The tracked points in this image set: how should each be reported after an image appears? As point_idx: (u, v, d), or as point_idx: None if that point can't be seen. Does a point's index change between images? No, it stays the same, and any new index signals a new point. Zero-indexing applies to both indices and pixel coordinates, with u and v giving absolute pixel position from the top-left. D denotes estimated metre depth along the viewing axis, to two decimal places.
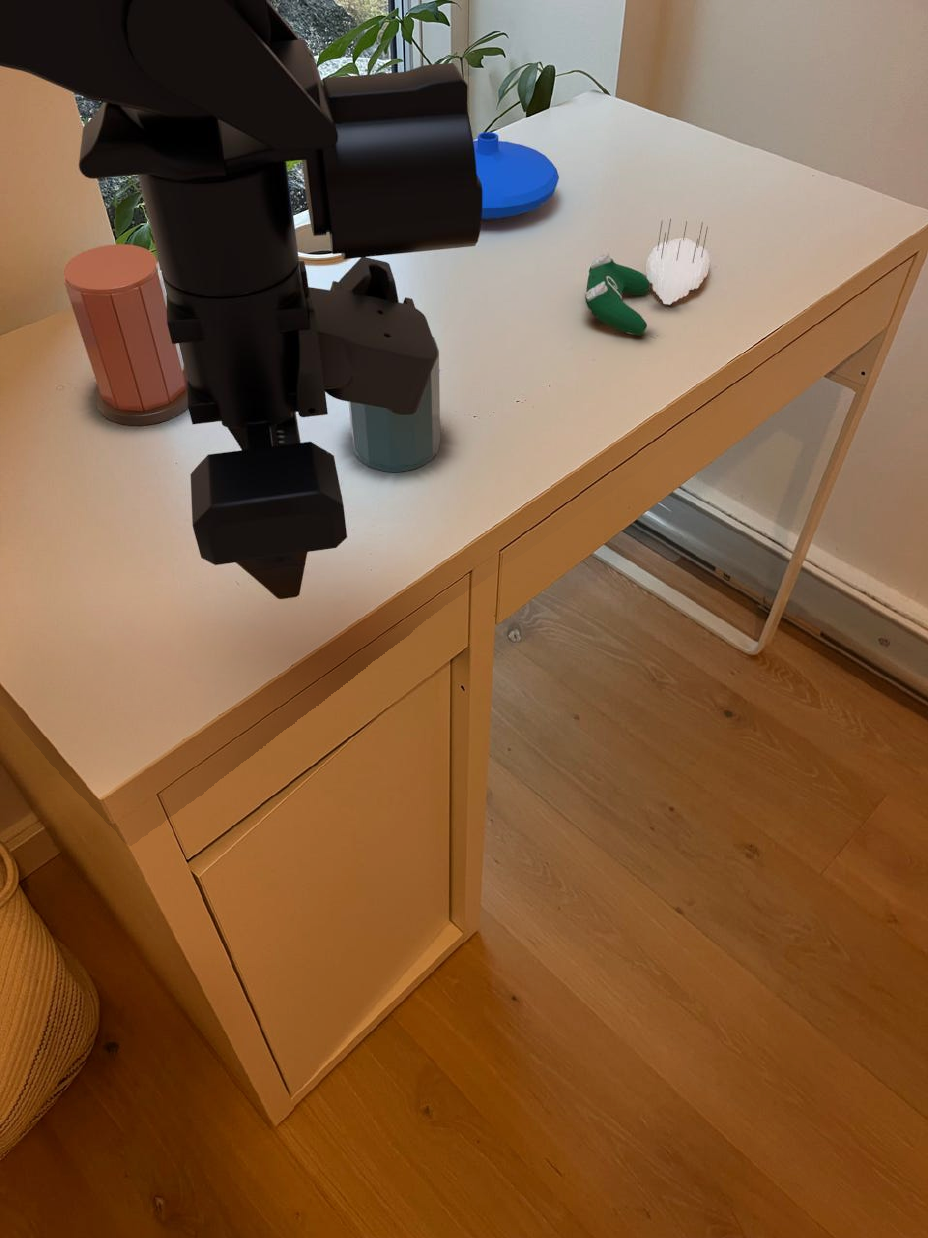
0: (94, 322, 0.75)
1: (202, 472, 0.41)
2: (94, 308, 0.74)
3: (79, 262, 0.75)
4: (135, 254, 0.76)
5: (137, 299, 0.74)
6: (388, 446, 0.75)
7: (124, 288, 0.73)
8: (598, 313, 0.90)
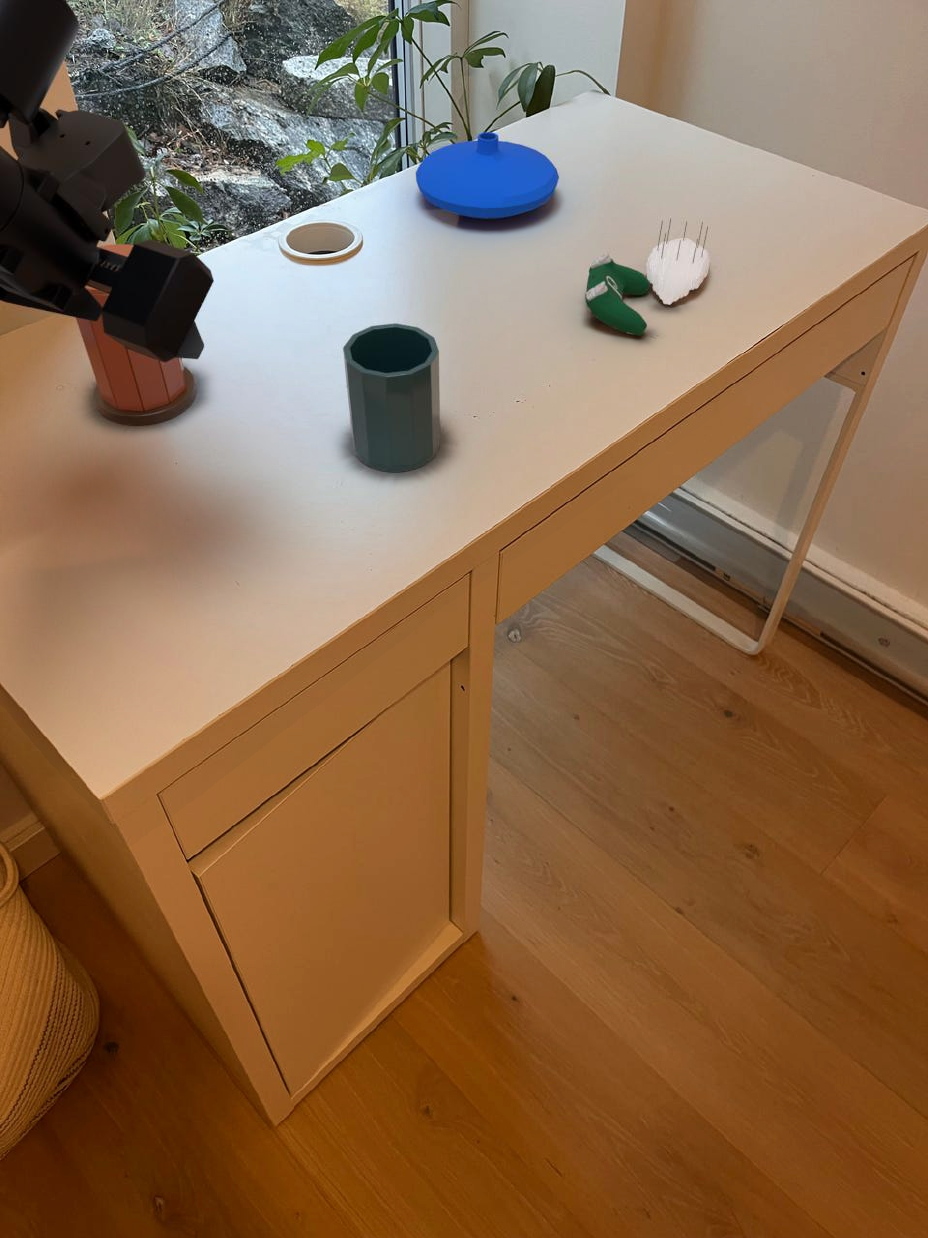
0: (94, 322, 0.75)
1: (111, 321, 0.56)
2: None
3: None
4: None
5: None
6: (388, 446, 0.75)
7: None
8: (598, 313, 0.90)
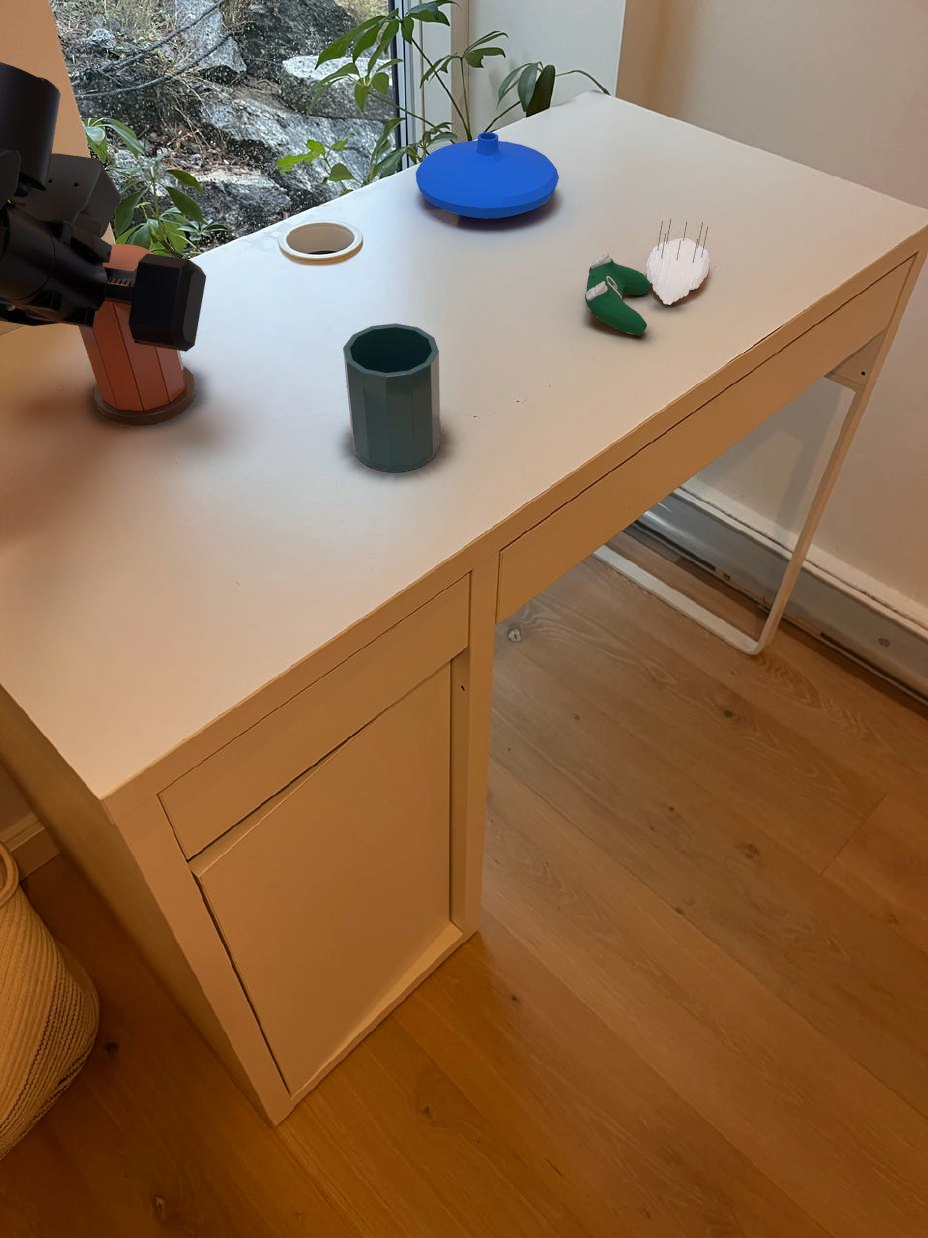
0: (94, 322, 0.75)
1: (139, 329, 0.70)
2: None
3: None
4: (135, 254, 0.76)
5: None
6: (388, 446, 0.75)
7: None
8: (598, 313, 0.90)
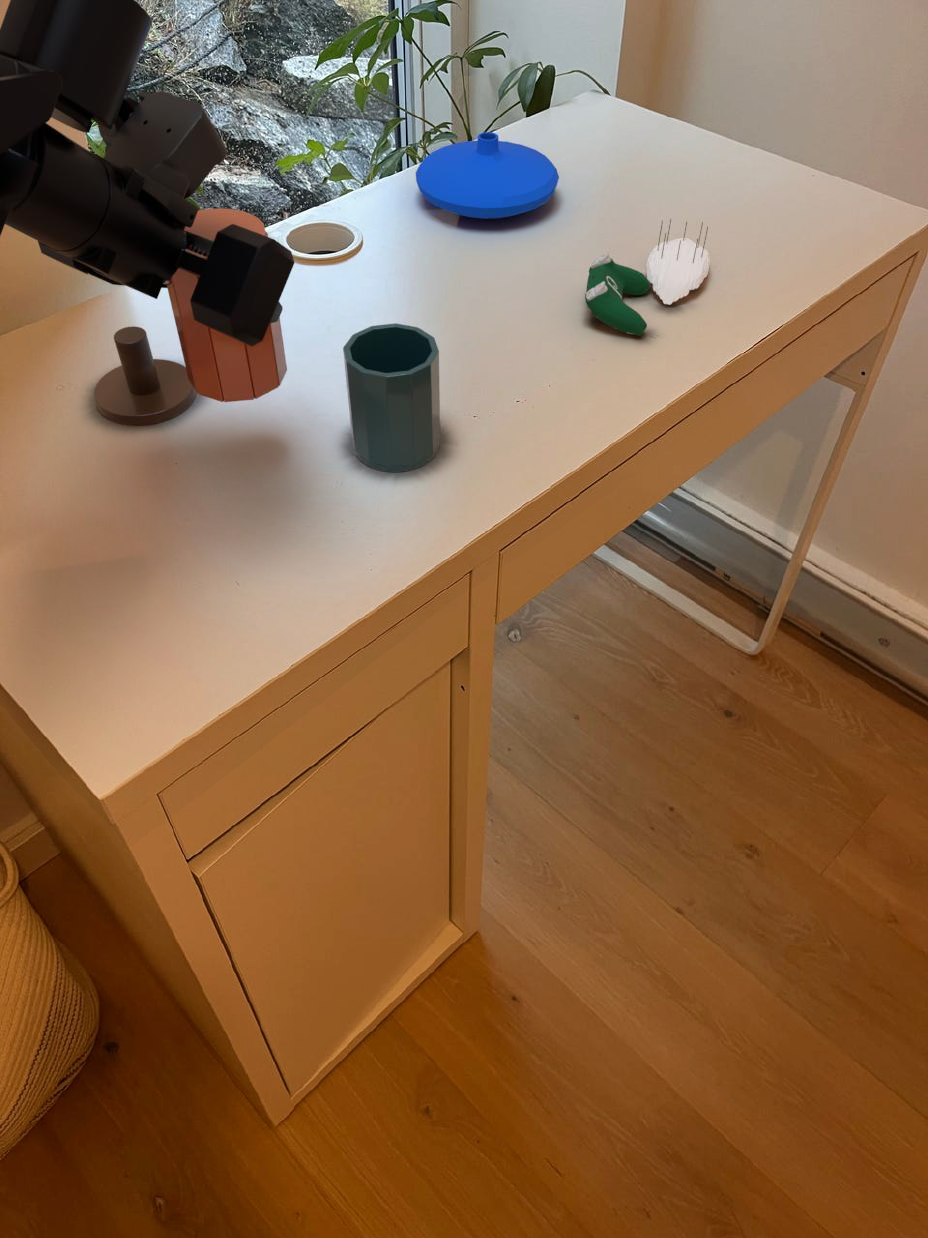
0: (179, 292, 0.65)
1: (200, 311, 0.58)
2: (179, 276, 0.64)
3: None
4: (245, 223, 0.65)
5: None
6: (388, 446, 0.75)
7: None
8: (598, 313, 0.90)
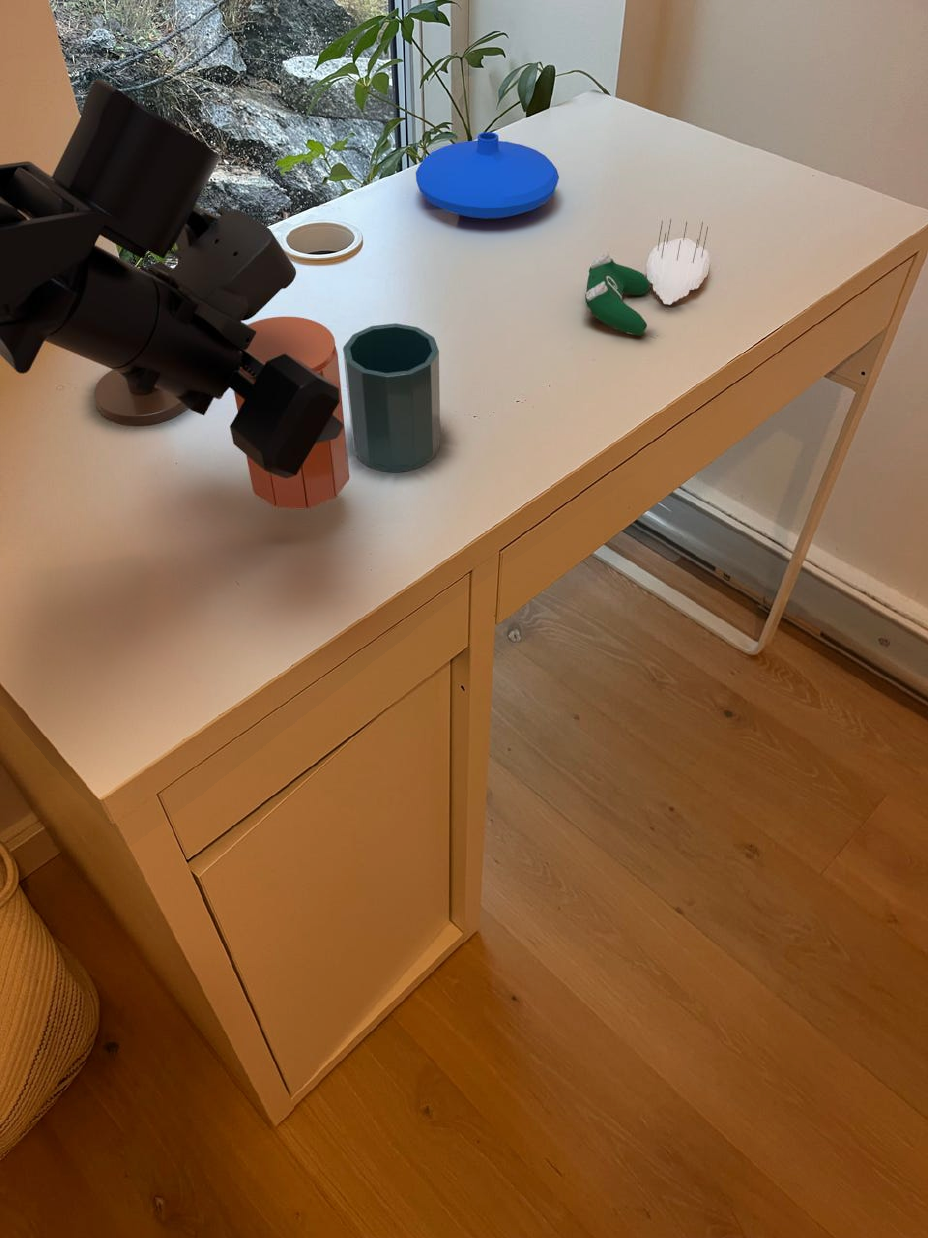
0: (239, 401, 0.64)
1: (238, 438, 0.57)
2: None
3: (256, 329, 0.64)
4: (316, 339, 0.64)
5: None
6: (388, 446, 0.75)
7: None
8: (598, 313, 0.90)
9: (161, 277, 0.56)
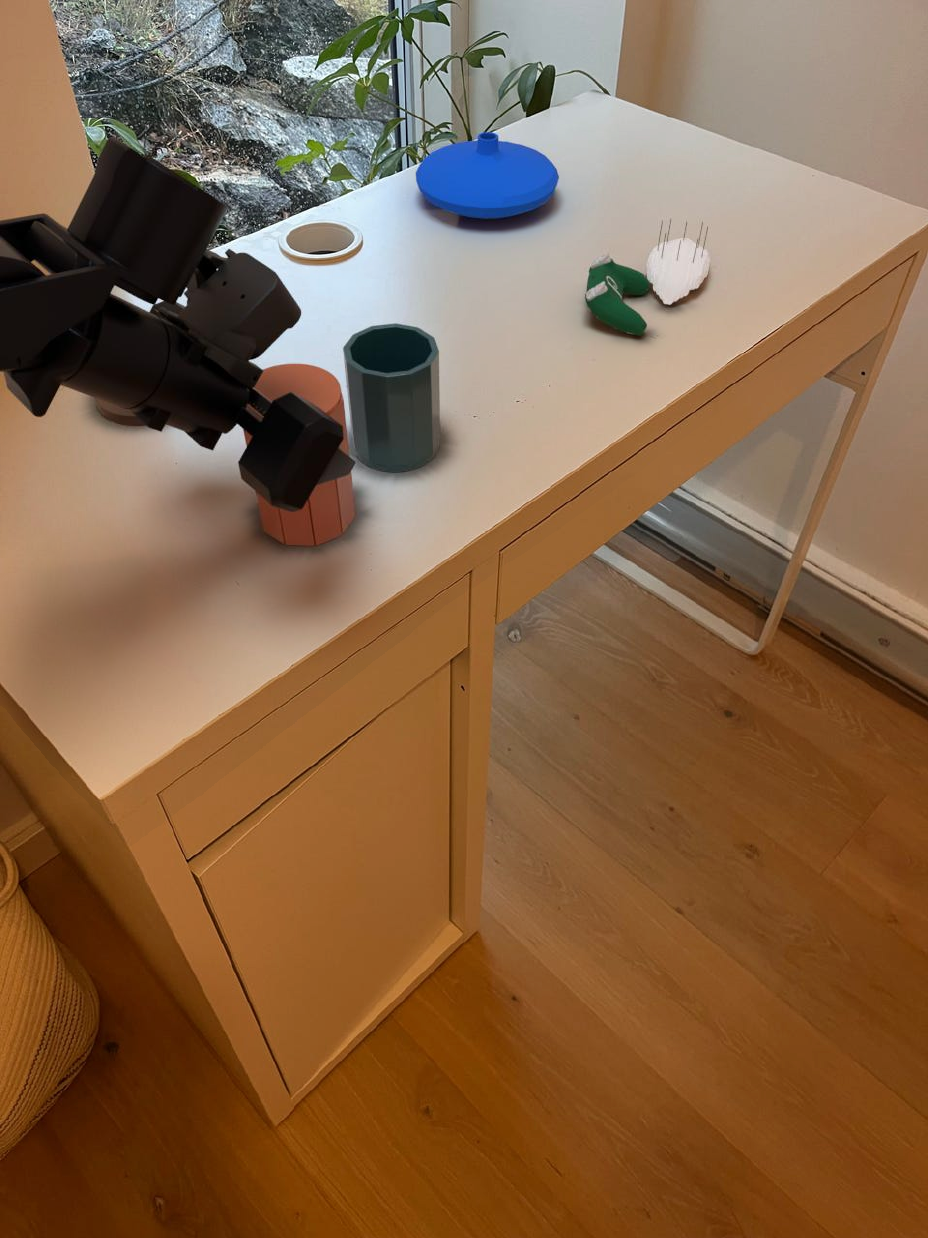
0: None
1: (246, 474, 0.59)
2: None
3: (266, 377, 0.67)
4: (323, 386, 0.66)
5: None
6: (388, 446, 0.75)
7: None
8: (598, 313, 0.90)
9: (171, 319, 0.58)
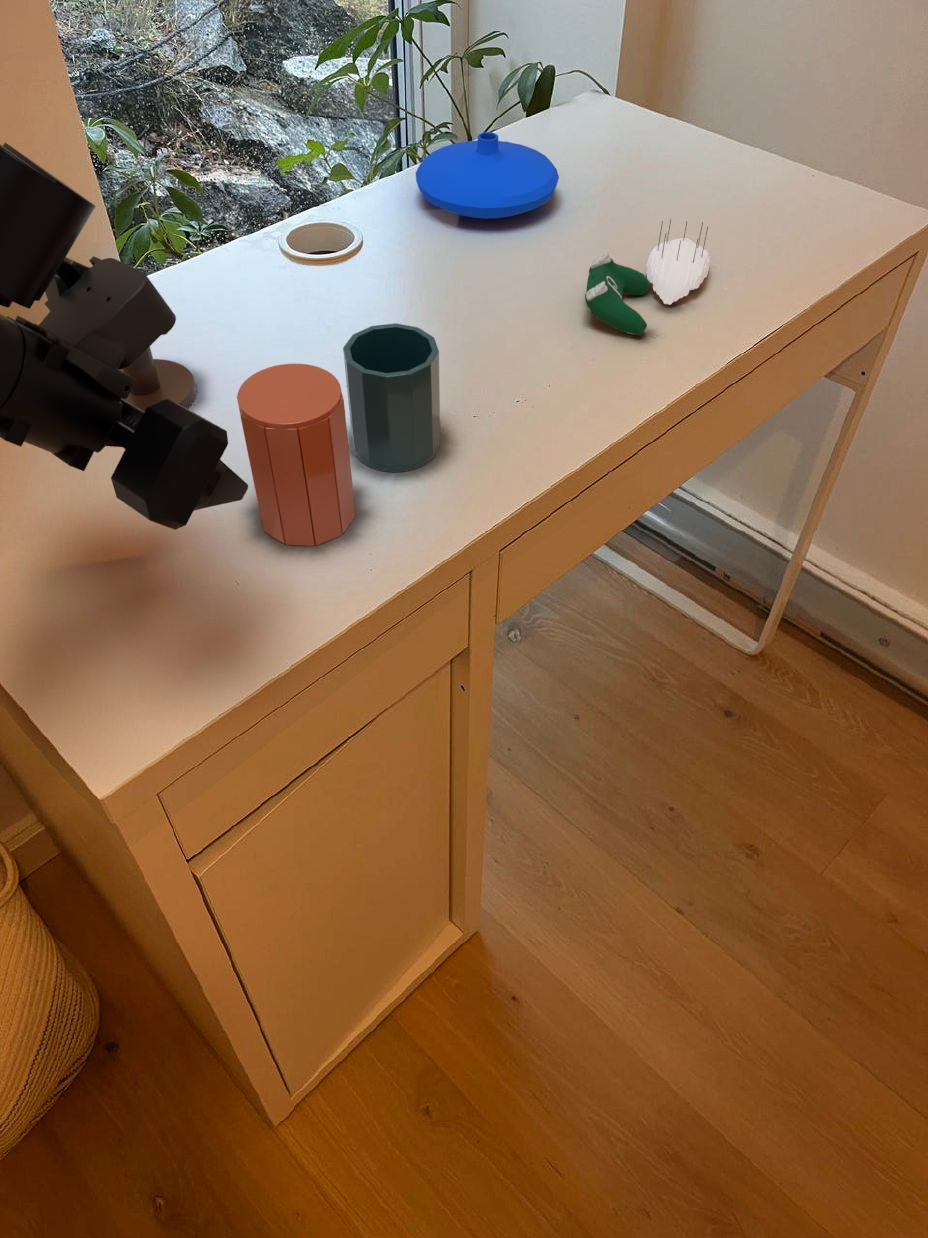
0: (249, 446, 0.66)
1: (120, 489, 0.53)
2: (250, 433, 0.65)
3: (266, 377, 0.67)
4: (323, 386, 0.66)
5: (293, 440, 0.65)
6: (388, 446, 0.75)
7: (280, 426, 0.64)
8: (598, 313, 0.90)
9: (29, 326, 0.53)
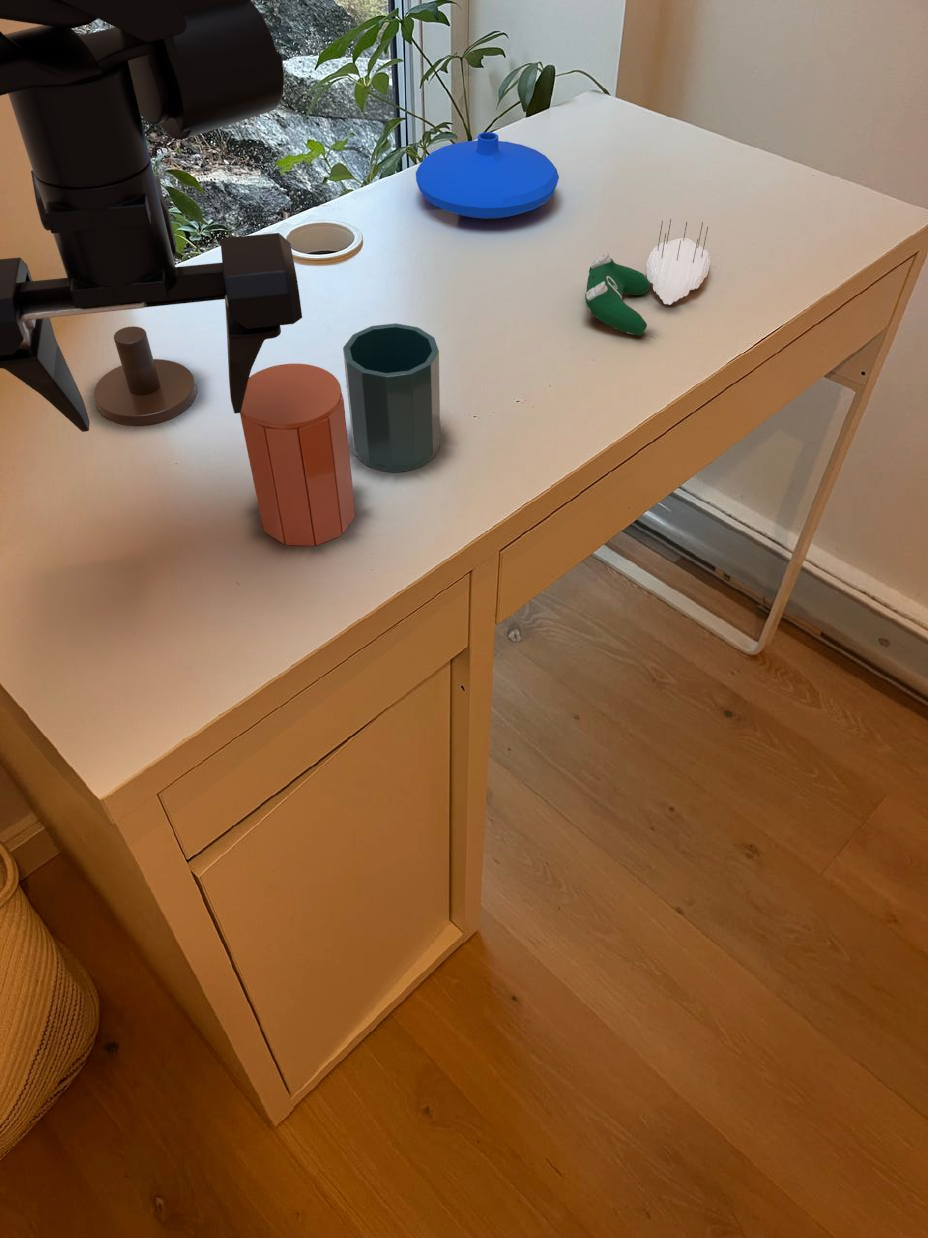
0: (249, 446, 0.66)
1: (239, 283, 0.53)
2: (250, 433, 0.65)
3: (266, 377, 0.67)
4: (323, 386, 0.66)
5: (293, 440, 0.65)
6: (388, 446, 0.75)
7: (280, 426, 0.64)
8: (598, 313, 0.90)
9: None
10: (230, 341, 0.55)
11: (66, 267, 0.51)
